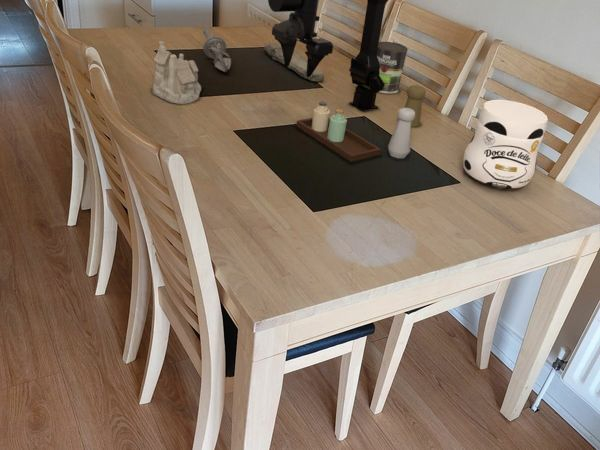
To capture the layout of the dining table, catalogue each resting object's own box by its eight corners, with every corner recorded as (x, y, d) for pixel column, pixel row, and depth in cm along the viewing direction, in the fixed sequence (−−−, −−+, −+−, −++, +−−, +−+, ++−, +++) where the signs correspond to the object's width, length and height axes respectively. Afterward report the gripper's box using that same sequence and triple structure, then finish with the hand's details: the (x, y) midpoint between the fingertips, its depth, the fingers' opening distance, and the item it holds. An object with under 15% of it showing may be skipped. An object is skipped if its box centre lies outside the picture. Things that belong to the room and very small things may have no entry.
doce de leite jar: (491, 200, 141) (515, 130, 131) (445, 166, 153) (463, 100, 143) (543, 190, 148) (569, 123, 139) (495, 159, 161) (515, 95, 151)
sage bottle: (336, 134, 161) (340, 106, 157) (346, 140, 158) (351, 112, 154) (323, 136, 159) (328, 108, 154) (334, 143, 156) (338, 114, 152)
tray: (324, 122, 169) (325, 115, 168) (379, 156, 154) (381, 149, 153) (295, 127, 163) (296, 120, 162) (350, 163, 148) (351, 156, 147)
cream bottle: (320, 124, 166) (324, 99, 162) (330, 130, 163) (334, 104, 159) (308, 126, 163) (311, 101, 159) (317, 132, 160) (321, 107, 156)
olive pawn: (421, 122, 177) (430, 86, 171) (416, 128, 172) (425, 92, 167) (402, 116, 179) (410, 81, 173) (396, 123, 174) (404, 87, 168)
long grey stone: (304, 87, 194) (329, 86, 199) (307, 72, 191) (333, 71, 197) (256, 48, 217) (279, 48, 222) (258, 34, 214) (281, 34, 220)
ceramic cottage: (171, 105, 166) (173, 51, 159) (142, 88, 176) (143, 36, 169) (218, 100, 175) (222, 48, 168) (188, 84, 186) (190, 34, 178)
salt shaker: (410, 154, 157) (421, 108, 150) (406, 163, 152) (417, 116, 145) (388, 149, 158) (398, 103, 151) (384, 158, 153) (393, 110, 146)
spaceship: (218, 21, 215) (198, 13, 211) (243, 63, 190) (221, 54, 186) (209, 41, 219) (189, 33, 214) (232, 84, 194) (210, 76, 189)
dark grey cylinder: (394, 96, 193) (403, 53, 186) (364, 89, 196) (372, 46, 189) (402, 87, 202) (411, 46, 194) (373, 80, 204) (380, 39, 197)
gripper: (258, 2, 151) (252, 62, 159) (304, 21, 140) (295, 85, 148) (292, 1, 158) (285, 59, 166) (339, 20, 146) (329, 81, 155)
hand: (297, 70), depth 158 cm, fingers open, 9 cm apart
